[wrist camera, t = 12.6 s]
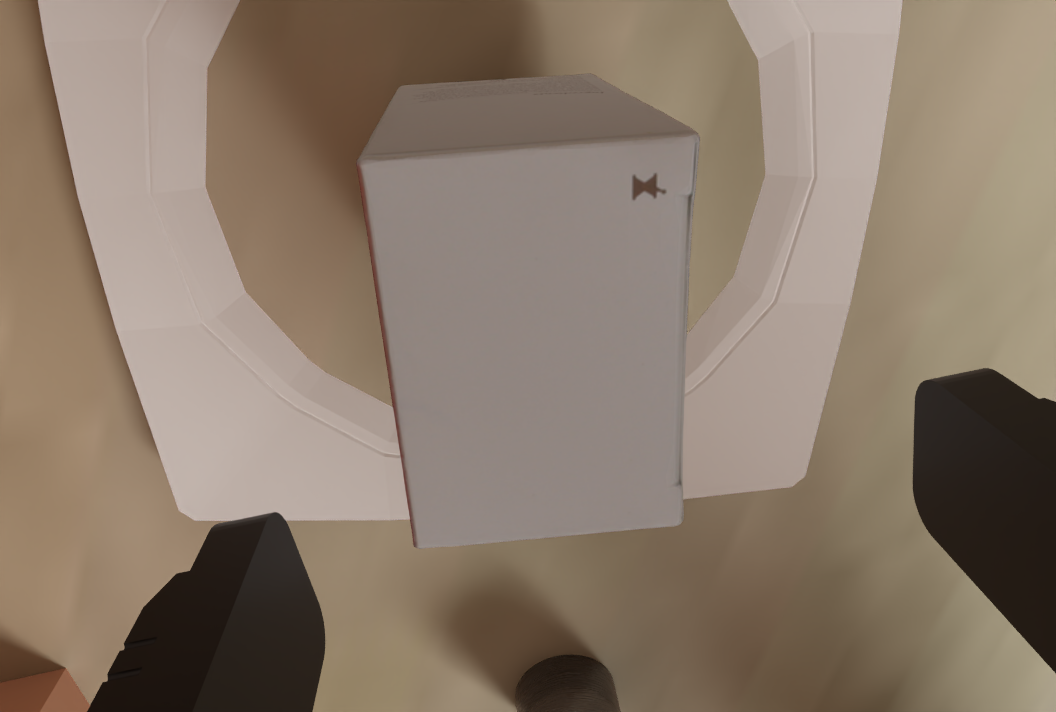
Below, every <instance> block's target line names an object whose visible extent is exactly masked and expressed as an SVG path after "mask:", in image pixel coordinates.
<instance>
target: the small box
mask: <svg viewBox="0 0 1056 712" xmlns="http://www.w3.org/2000/svg"><path fill="white" fill-rule="evenodd" d="M699 144H700V137H699V135H698V133H697V132H695V131H694V130H693V129H692V128H690V127H688V126H686V125H684V124H683V123H681V122H679V121H677V120H675V119H674V118H672V117H670V116H668V115H666V114H665V113H663V112H661V111H659V110H657V109H655V108H653V107H652V106H650V105H648V104H646V103H644V102H641V101H640V100H638V99H636V98H634V97H632V96H630V95H629V94H627V93H625V92H623V91H621V90H620V89H618V88H616V87H614V86H613V85H611V84H609V83H607V82H605V81H604V80H602V79H600V78H598V77H597V76H595V75H593V74H578V75H565V76H547V77H529V78H512V79H497V80H482V81H465V82H447V83H431V84H416V85H403V86H400V87H399V88H398V89H397V91H396V93H395V94H394V96H393V98H392V100H391V101H390V103H389V105H388V107H387V109H386V110H385V112H384V114H383V115H382V117H381V119H380V121H379V123H378V124H377V126H376V128H375V130H374V131H373V133H372V135H371V137H370V139H369V141H368V143H367V145H366V146H365V148H364V149H363V151H362V153H361V155H360V157H359V158H358V160H357V163H356V166H357V171H358V177H359V183H360V190H361V197H362V204H363V210H364V217H365V223H366V229H367V236H368V243H369V249H370V256H371V263H372V270H373V277H374V284H375V291H376V297H377V304H378V311H379V317H380V324H381V331H382V337H383V344H384V350H385V357H386V363H387V370H388V377H389V383H390V390H391V397H392V404H393V410H394V417H395V423H396V430H397V436H398V443H399V449H400V456H401V462H402V469H403V476H404V483H405V491H406V497H407V503H408V509H409V516H410V522H411V528H412V536H413V544H414V547H416V548H419V549H422V548H433V547H449V546H462V545H474V544H485V543H495V542H506V541H516V540H528V539H539V538H550V537H561V536H572V535H582V534H593V533H604V532H615V531H625V530H636V529H648V528H660V527H673V526H677V525H680V524H681V522H682V521H683V517H684V508H683V425H684V397H685V364H686V338H687V313H688V292H689V264H690V251H691V235H692V217H693V205H694V197H695V190H696V178H697V166H698V155H699Z"/></svg>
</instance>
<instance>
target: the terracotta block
mask: <svg viewBox="0 0 1056 712" xmlns="http://www.w3.org/2000/svg"><path fill="white" fill-rule="evenodd" d="M89 707H90V705H89V703H88V702H87V700H86V699H85V697H84V696H83V694H82V693H81V691H80V689H79V688H78V686H77V685H76V683H75V682H74V680H73V678H72V677H71V675H70V674H69V672H68V671H67V669H66V668H64V669H60V670H55V671H51V672H46V673H41V674H37V675H32V676H28V677H23V678H19V679H14V680H10V681H5V682H1V683H0V712H87V711H88V709H89Z"/></svg>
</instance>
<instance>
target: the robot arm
mask: <svg viewBox="0 0 1056 712" xmlns="http://www.w3.org/2000/svg"><path fill="white" fill-rule="evenodd" d="M913 493H914V499H915V503H916V506H917V510H918V512H919V515H920V517H921V519H922V522H923V523H924V525H925V527H926V529H927V530H928V532H929V533H930V534H931V536H932V537H933V538H934V539H935V540H936V541H937V542H938V544H939V545H940V546H941V547H942V548H943V549H944V550H945V551H946V552H947V553H948V555H949V556H950V557H951V558H952V559H953V560H954V561H955V562H956V563H957V565H958V566H959V567H960V568H961V569H962V570H963V571H964V572H965V573H966V575H967V576H968V577H969V578H970V579H971V580H972V581H973V582H974V583H975V584H976V586H977V587H978V588H979V589H980V590H981V591H982V592H983V593H984V594H985V596H986V597H987V598H988V599H989V600H990V601H991V602H992V603H993V604H994V605H995V607H996V608H997V609H998V610H999V611H1000V612H1001V613H1002V614H1003V615H1004V617H1005V618H1006V619H1007V620H1008V621H1009V622H1010V623H1011V624H1012V625H1013V626H1014V628H1015V629H1016V630H1017V631H1018V632H1019V633H1020V634H1021V635H1022V636H1023V638H1024V639H1025V640H1026V641H1027V642H1028V643H1029V644H1030V645H1031V646H1032V647H1033V649H1034V650H1035V651H1036V652H1037V653H1038V654H1039V655H1040V656H1041V657H1042V659H1043V660H1044V661H1045V662H1046V663H1047V664H1048V665H1049V666H1050V667H1051V668H1052V670H1053V671H1054V672H1055V673H1056V402H1054V401H1051V400H1048V399H1046V398H1042V399H1038V398H1036V397H1035V396H1033V395H1032V394H1030V393H1029V392H1027V391H1026V390H1024V389H1023V388H1021V387H1020V386H1018V385H1017V384H1015V383H1014V382H1012V381H1011V380H1009V379H1007V378H1006V377H1004V376H1003V375H1001V374H1000V373H998V372H997V371H995V370H993V369H989V368H983V369H979V370H974V371H969V372H964V373H959V374H954V375H949V376H944V377H940V378H935V379H930V380H926V381H923V382H922V383H921V384H920V385H919V387H918V389H917V391H916V396H915V416H914V454H913ZM124 646H125V649H124V650H122V651H120V652H119V653H118V655H117V657H116V659H115V661H114V663H113V665H112V666H111V668H110V670H109V672H108V674H107V675H108V681H107V682H103V683H102V685H101V687H100V689H99V690H98V692H97V694H96V696H95V698H94V700H93V701H92V703H91V705H90V707H89V709H88V711H87V712H312V711H313V706H314V702H315V697H316V692H317V688H318V683H319V678H320V674H321V669H322V665H323V660H324V654H325V629H324V621H323V616H322V612H321V608H320V605H319V602H318V600H317V597H316V595H315V592H314V590H313V587H312V584H311V582H310V579H309V577H308V574H307V572H306V569H305V567H304V564H303V562H302V559H301V557H300V554H299V551H298V549H297V546H296V544H295V541H294V539H293V536H292V534H291V531H290V529H289V526H288V524H287V522H286V520H285V519H284V518H283V516H282V515H281V514H279V513H277V512H273V513H268V514H263V515H258V516H253V517H248V518H243V519H238V520H234V521H229V522H224V523H219V524H216V525H214V526H213V527H212V528H211V530H210V532H209V533H208V535H207V537H206V539H205V541H204V544H203V546H202V548H201V550H200V552H199V554H198V556H197V558H196V560H195V562H194V564H193V566H192V568H191V570H190V571H187V572H182V573H178V574H176V575H175V576H174V577H173V578H172V579H171V580H170V581H169V582H168V583H167V584H166V585H165V586H164V587H163V588H162V589H161V590H160V591H159V592H158V593H157V594H156V595H155V596H154V597H153V598H152V599H151V600H150V601H149V602H148V603H147V604H146V605H145V606H144V607H143V609H142V611H141V613H140V615H139V617H138V618H137V620H136V622H135V624H134V626H133V628H132V629H131V631H130V633H129V635H128V637H127V639H126V641H125V642H124Z"/></svg>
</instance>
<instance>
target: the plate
mask: <svg viewBox="0 0 1056 712" xmlns="http://www.w3.org/2000/svg"><path fill="white" fill-rule="evenodd" d="M727 1H728V3H729V5H730V7H731V9H732V11H733V13H734V15H735V17H736V19H737V21H738V23H739V25H740V27H741V29H742V31H743V33H744V35H745V36H746V38H747V40H748V42H749V44H750V46H751V48H752V50H753V52H754V53H755V55H756V57H757V59H758V65H759V80H760V95H761V111H762V126H763V141H764V156H765V178H764V181H763V184H762V188H761V191H760V194H759V197H758V200H757V204H756V207H755V210H754V213H753V216H752V220H751V223H750V226H749V229H748V232H747V236H746V239H745V242H744V245H743V248H742V252H741V255H740V258H739V261H738V264H737V268H736V271H735V274H734V277H733V278H732V279H731V280H730V282H729V283H728V284H727V285H726V286H725V288H724V289H723V290H722V291H721V293H720V294H719V295H718V296H717V298H716V299H715V300H714V301H713V303H712V304H711V305H710V306H709V308H708V309H707V310H706V311H705V313H704V314H703V315H702V316H701V318H700V319H699V320H698V321H697V323H696V324H695V325H694V326H693V328H692V329H691V330H690V332H689V333H688V334H687V338H686V364H685V397H684V425H683V499H691V498H700V497H708V496H717V495H726V494H735V493H744V492H753V491H762V490H771V489H779V488H788V487H792V486H794V485H795V484H796V483H797V482H799V481H800V480H801V479H802V478H804V477H805V475H806V472H807V468H808V464H809V460H810V456H811V453H812V449H813V445H814V441H815V437H816V433H817V430H818V426H819V422H820V418H821V414H822V410H823V407H824V403H825V399H826V395H827V391H828V387H829V384H830V380H831V376H832V372H833V368H834V364H835V361H836V357H837V353H838V349H839V345H840V341H841V338H842V334H843V330H844V326H845V322H846V318H847V315H848V311H849V307H850V303H851V298H852V294H853V289H854V284H855V280H856V275H857V270H858V265H859V261H860V256H861V251H862V247H863V242H864V237H865V233H866V228H867V223H868V218H869V214H870V209H871V204H872V200H873V195H874V190H875V186H876V181H877V175H878V169H879V162H880V156H881V149H882V143H883V136H884V129H885V123H886V116H887V110H888V103H889V97H890V90H891V83H892V77H893V70H894V64H895V57H896V50H897V44H898V37H899V29H900V20H901V11H902V1H903V0H727ZM239 2H240V0H38V5H39V11H40V17H41V23H42V30H43V36H44V42H45V47H46V51H47V56H48V61H49V65H50V70H51V75H52V79H53V84H54V88H55V93H56V98H57V102H58V107H59V112H60V116H61V121H62V125H63V130H64V135H65V139H66V144H67V149H68V153H69V158H70V163H71V167H72V172H73V176H74V181H75V186H76V190H77V195H78V199H79V203H80V206H81V210H82V213H83V217H84V220H85V224H86V227H87V230H88V234H89V237H90V241H91V244H92V248H93V251H94V255H95V258H96V262H97V265H98V269H99V272H100V276H101V279H102V283H103V286H104V290H105V293H106V297H107V300H108V304H109V307H110V311H111V314H112V318H113V321H114V325H115V328H116V332H117V334H118V337H119V340H120V343H121V346H122V349H123V352H124V354H125V357H126V360H127V363H128V366H129V369H130V372H131V375H132V377H133V380H134V383H135V386H136V389H137V392H138V395H139V398H140V400H141V403H142V406H143V409H144V412H145V415H146V418H147V420H148V423H149V426H150V429H151V432H152V435H153V438H154V441H155V443H156V446H157V449H158V452H159V455H160V458H161V461H162V464H163V466H164V469H165V472H166V475H167V478H168V481H169V484H170V486H171V489H172V492H173V495H174V498H175V501H176V504H177V507H178V509H179V511H180V512H182V513H183V514H185V515H187V516H188V517H190V518H191V519H193V520H195V521H234V520H238V519H243V518H248V517H253V516H258V515H263V514H268V513H273V512H277V513H279V514H281V515H282V516H283V518H284V519H285V520H408V519H410V516H409V509H408V503H407V497H406V491H405V483H404V476H403V469H402V462H401V456H400V449H399V443H398V436H397V430H396V423H395V417H394V410H393V407H391V406H389V405H388V404H386V403H384V402H382V401H380V400H378V399H376V398H374V397H372V396H370V395H368V394H366V393H364V392H363V391H361V390H359V389H357V388H355V387H353V386H351V385H349V384H347V383H345V382H343V381H341V380H340V379H338V378H336V377H334V376H332V375H330V374H328V373H326V372H324V371H323V370H322V369H320V368H319V367H318V366H316V365H315V364H314V363H313V362H311V361H310V360H309V359H308V358H307V357H306V356H305V355H304V354H303V353H302V352H301V351H300V350H299V349H298V347H297V346H296V345H295V344H294V343H293V342H292V341H291V340H290V339H289V338H288V337H287V336H286V335H285V334H284V332H283V331H282V330H281V329H280V328H279V327H278V326H277V325H276V324H275V323H274V322H273V321H272V320H271V318H270V317H269V316H268V315H267V314H266V313H265V312H264V311H263V310H262V309H261V308H260V307H259V306H258V304H257V303H256V302H255V301H254V300H253V299H252V298H251V297H250V296H249V295H248V294H247V293H246V292H245V289H244V286H243V284H242V281H241V279H240V276H239V273H238V271H237V268H236V266H235V263H234V260H233V258H232V255H231V253H230V250H229V248H228V245H227V242H226V240H225V237H224V235H223V232H222V229H221V227H220V224H219V222H218V219H217V216H216V214H215V211H214V209H213V206H212V203H211V201H210V198H209V196H208V193H207V190H206V188H205V178H206V119H207V68H208V66H209V64H210V62H211V60H212V58H213V56H214V54H215V52H216V50H217V47H218V45H219V43H220V41H221V39H222V37H223V35H224V33H225V31H226V29H227V27H228V25H229V22H230V20H231V18H232V16H233V14H234V12H235V10H236V8H237V6H238V4H239Z"/></svg>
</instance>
